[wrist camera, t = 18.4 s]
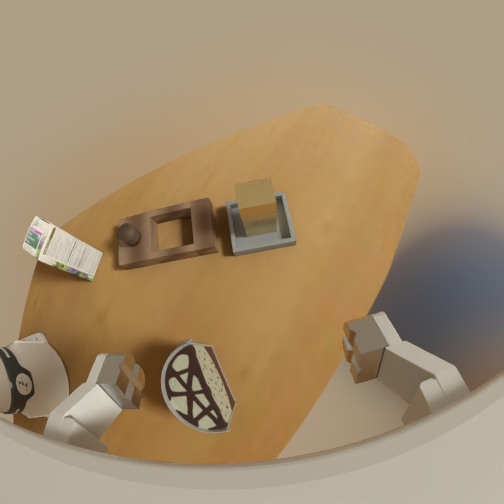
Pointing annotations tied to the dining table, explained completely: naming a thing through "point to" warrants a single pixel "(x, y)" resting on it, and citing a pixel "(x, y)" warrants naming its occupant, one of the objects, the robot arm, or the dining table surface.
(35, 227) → the syrup box
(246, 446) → the dining table surface
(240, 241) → the tray
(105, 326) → the dining table surface
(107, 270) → the dining table surface
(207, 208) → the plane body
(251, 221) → the gold rectangular block
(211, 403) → the food container
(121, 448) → the dining table surface
